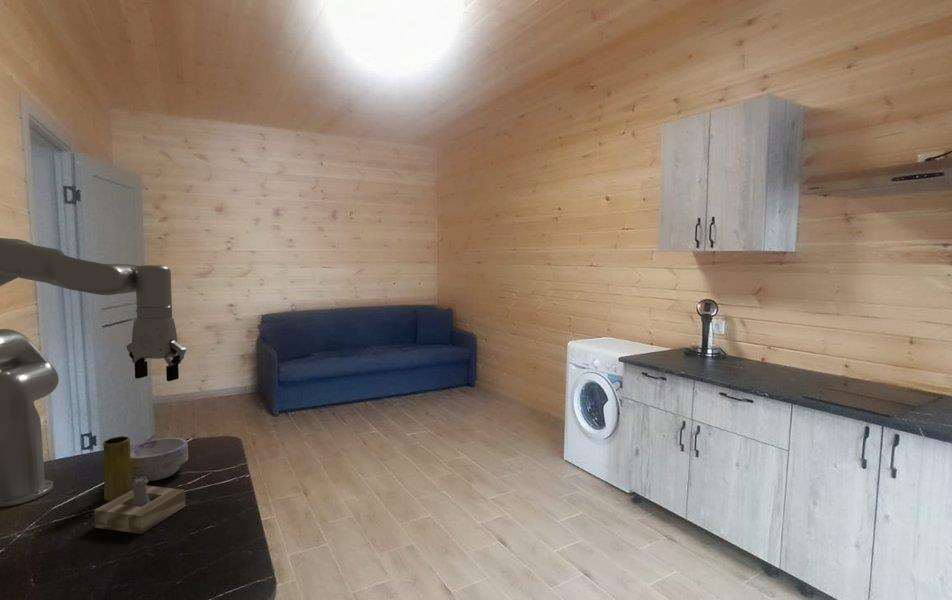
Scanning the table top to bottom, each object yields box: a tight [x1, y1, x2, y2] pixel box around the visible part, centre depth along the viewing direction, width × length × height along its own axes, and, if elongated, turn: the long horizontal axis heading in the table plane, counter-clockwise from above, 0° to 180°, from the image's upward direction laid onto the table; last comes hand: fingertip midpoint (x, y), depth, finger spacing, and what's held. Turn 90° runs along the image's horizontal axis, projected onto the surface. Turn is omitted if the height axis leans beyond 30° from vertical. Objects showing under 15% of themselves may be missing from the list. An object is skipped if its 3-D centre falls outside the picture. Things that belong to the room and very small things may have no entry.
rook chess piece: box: [131, 476, 151, 507], centre depth 109 cm, size 4×4×8 cm
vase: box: [102, 436, 134, 502], centre depth 119 cm, size 6×6×14 cm
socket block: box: [94, 485, 186, 535], centre depth 109 cm, size 12×12×4 cm
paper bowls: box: [130, 437, 189, 482], centre depth 131 cm, size 15×15×8 cm
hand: (157, 378), depth 124 cm, fingers open, 9 cm apart
